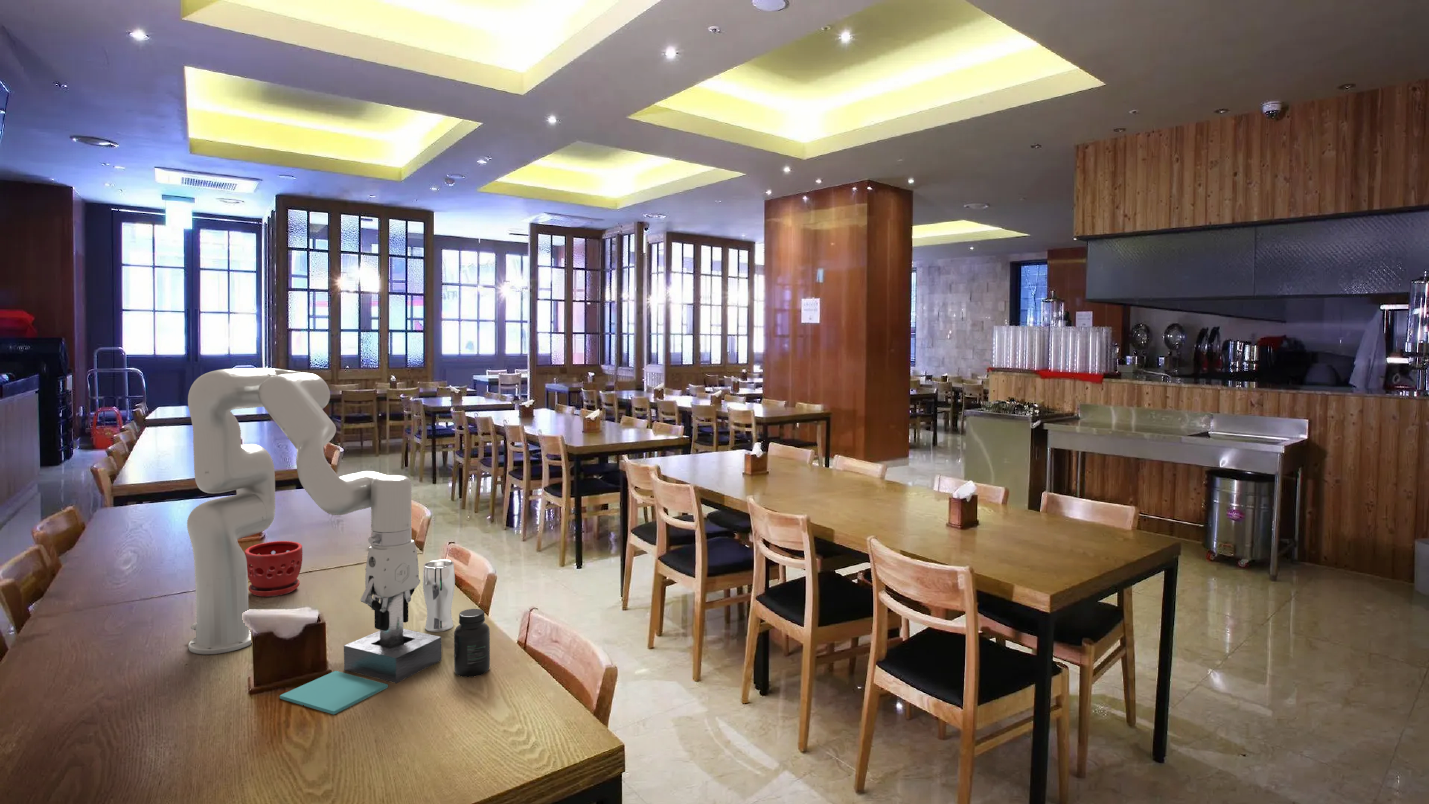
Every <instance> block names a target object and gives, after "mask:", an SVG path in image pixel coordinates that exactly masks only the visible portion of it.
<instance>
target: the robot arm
mask: <svg viewBox="0 0 1429 804" xmlns="http://www.w3.org/2000/svg"><path fill="white" fill-rule="evenodd" d="M330 399H331V391H330V388H329V386H328V384H327V382H326V380H324V379H323V378H322V377H321V376H319V375H317V374H315V373H310V372H304V371H302V372H301V371H295V370H288V369H281V368H274V367H273V368H272V367H256V368H255V367H254V368H253V367H252V368H240V367H239V368H222V369H216V370H212V371H209V372H206V373H204V374H202V375H200V376H198V377H197V378H196V379H195V380H194V381H193V383H192V384H191V386H190V389H189V391H188V395H187V406H188V411H189V416H190V419H191V425H192V432H193V433H192V434H193V435H192V436H193V441H192V443H193V465H194V466H193V471H194V480H195V484H196V485H197V488H198V489H199V490H200V491H202V492H204V493H205V494H206V493H207V494H221V493H227V492H232V491H236V494H234V495H228V496H224V497H220V498H215V499H211V500H208V501H205V502H202V503H201V504H199V505H197V506H195V507H194V508H193V509H192V511H190V513H189V515H188V518H187V522H186V528H187V532H188V537H189V539H190V543H191V547H192V553H193V562H194V563H193V564H194V566H193V567H194V583H195V585H194V586H195V610H196V611H195V612H196V614H195V615H196V616H195V617H196V622H194V623H192V624H191V625H190V629H191V630H192V631H195V637H194V638H192V639H191V640H190V641H189V642H188V644H187V646H188V647H187V648H188V651H189V652H191V653H192V654H198V655H216V654H223V653H230V652H234V651H237V650H241V649H244V648H246V647H249V646H251V645H252V644H251V632H250V630H249V629H250V628H249V629H248V627H247V626H245V623H243V620H242V613H243V612H245V611H247V610H249V608H250V607H249V579H248V571H247V559H246V556H245V551H244V550H243V549H242V547H241V546H240V544H239V542H238V540H241V539H243V538H247V537H250V536H253V535H257V534H260V533H262V532H264V531H266V530H267V529H269V528H270V527H271V525H272V524H273V522H274V521H275V517H276V476H275V475H276V474H275V473H276V472H275V464H274V460H273V458H272V456H271V454H270V453H269V452H268V450H266V448H264V447H263V446H261V445H259V444H255V443H246V444H245V443H244V444H242V440H241V438H242V437H241V436H242V435H241V434H242V430H241V426H240V423H239V421H238V419H237V417H236V416H235V415H234V413H232V411H233V410H240V409H242V410H243V409H253V408H262V407H263V408H264V409H265V411H266V413H268V415H270V417H271V418H272V420H273V421H274V422H275V424H276V425H277V426H278V427H279V429H280V430H281V431H282V433H283V434H284V436H286V438H287V439H288V440H289V441H290V443H291V444H292V446H294V448H295V449H296V458H295V459H296V460H295V461H296V462H295V463H296V465H295V466H296V471H297V476H298V477H297V478H298V480H299V482H300V484H301V486H302V487H303V489H304V491H306V494H308V495H309V496H310V498H311V499H312V501H313V502H314V503H315V504H316V505H317V507H318V508H319V509H321V510H322V511H324V512H325V513H327V514H329V515H332V516H344V515H347V514H350V513H354V512H356V511H360V510H365V509H369V508H370V537H367V542H368V543H369V544H370V546H369V547H368V552H367V556H366V563H365V565H366V566H365V578H364V579H365V581H364V582H365V589H364V591H363V594H362V595H361V598H360V602H361V603H364V604H365V605H367V606H369V608H371V610H372V611H374V628H375V630H378V631H380V630H383V631H387V630H388V629H389V612H388V611H386V607H387V601H388V598H389V597H392V596H395V595H397V594H400V593H403V624H405V623H408V622H409V603H410V602H411V601H412V596H413V594H414V592H415V591H416V588H417V587H418V586H419V585H420V583H421V579H420V573H419V557H418V549H417V546H416V542H415V540H414V539H412V481H411V478H409V477H408V476H406V475H401V474H384V473H381V472H378V471H373V470H363V471H357V472H355V473H354V472H353V473H347V474H344V475H340V476H339V475H338V474H337V472H335V470H334V469H333V467H332V466H331V465H330V464H329V462H328V461H327V458H326V455H325V452H324V447H325V446H326V445H327V444H328V443H330V442H331V440H332V439H333V438H334V436H335V434H336V432H337V427H336V424H335V423H334V422H333V420H332V419H331V418H330V417H329V416H328V414H327V413H326V412H325V411H324V408H326V406H327V405H328V404H329V402H330ZM380 598H381V604H380Z"/></svg>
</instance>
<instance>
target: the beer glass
mask: <svg viewBox="0 0 1429 804" xmlns="http://www.w3.org/2000/svg"><path fill="white" fill-rule="evenodd" d="M455 587H456V574H455V563H454V561H452V560H450V559H436V560H430V561H427V562H425V563H424V564H423V573H422V589H423V590H422V591H423V596H424V601H425V605H426V606H425V608H426V622H425V630H426V631H427V632H431V633H440V632H441V633H442V632H445V631H449V630H451V629H452V628H453V627H454V621H453V620H454V619H453V617H452V606H453V601H454V600H453V599H454V596H455V595H454V593H455V589H456V588H455Z"/></svg>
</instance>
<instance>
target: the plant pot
mask: <svg viewBox="0 0 1429 804" xmlns="http://www.w3.org/2000/svg"><path fill="white" fill-rule="evenodd" d="M272 552H274V554H273V553H272ZM244 554H245V556H246V559H247V571H248V582H250V585H248V592H250V593H251V595H254V596H258V597H266V598H267V597H268V598H270V597H278V596H283V595H287V594H289V593H291V592H294V591H295V590H296V589H298V588H299V586H300V583H301V582H300V579H298V577H299V575H300V573H301V569H302V564H303V545H302V544H301V543H299V542H297V541H290V540H274V541H267V542H263V543H262V542H261V543H257V544H255V545H251V546H249V547H247V548H246V549H245V550H244Z"/></svg>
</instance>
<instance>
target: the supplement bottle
mask: <svg viewBox="0 0 1429 804" xmlns="http://www.w3.org/2000/svg"><path fill="white" fill-rule="evenodd" d="M458 618H459V619H458V624H459V625H457V626H455V629H454V631H453V662H454V663H453V665H454V667H453V668H454V673H455V675H457V676H458V677H461V676H462V677H463V678H474V676H476V677H479V676H482V675H484V674H486V673H487V672H488V671H489V669H490V668H491V667H490V664H491V659H490V657H491V656H490V655H491V653H490V652H491V649H490V648H491V646H490V645H491V643H490V642H491V641H490V640H491V638H490V637H491V634H490V633H491V630H490V627H489V625H488V624H487V623H486V622H485V621H486V618H485V610H483V609H480V608H468V609H464V610H462V611H460V612H459V614H458ZM462 677H461V678H462Z"/></svg>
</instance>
